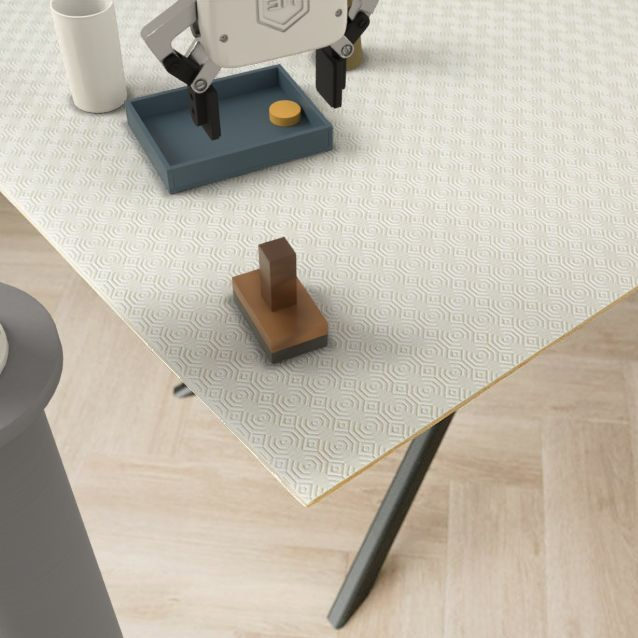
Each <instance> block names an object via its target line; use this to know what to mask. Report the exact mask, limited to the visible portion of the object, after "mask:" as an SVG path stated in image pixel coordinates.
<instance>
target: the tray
mask: <svg viewBox="0 0 638 638" xmlns="http://www.w3.org/2000/svg"><path fill="white" fill-rule="evenodd" d="M211 84H212V85H213V87H214V88H215V89H216V91H217V94H218V103H219V115H220V127H221V137H219V139H217V140H213V141H212V140H211V139H210V138H209V136H208V135H207V133H206V132H205V130H204V129H203V128H202V126H198V127H197V126H196V125H195V124H194V122H193V120H192V117H191V114H190V107H189V98H188V89H187V85H184V86H180V87H176V88H172V89H166V90H164V91H159V92H154V93H150V94H147V95H142V96H141V95H140V96H138V97H134V98H129V99H126V100H125V101H124V104H123V105H124V110H125V115H126V121H127V126H129V128H130V130H131V132H132V134H133V135H134V137H135V138H136V140H137V141H138V144H139V145H140V146H141V148H142V150H143V152H144V153H145V154H146V157H147V158H148V160H149V162H150V163H151V165H152V167H153V168H154V171H155V172H156V173H157V175H158V177H159V179H160V180H161V182H162V184H163V185H164V187H165V188H166V190H167V192H168V193H169V194H170V195H172V194H176V193H180V192H184V191H186V190H187V191H188V190H191V189H195V188H198V187H202V186H206V185H210V184H212V183H216V182H220V181H223V180H228V179H232V178H234V177H239V176H242V175H246V174H249V173H252V172H256V171H260V170H263V169H267V168H271V167H274V166H277V165H278V166H279V165H280V164H285V163H290V162H292V161H295V160H296V161H297V160H301V159H303V158H306V157H310V156H314V155H317V154H322V153H325V152H328V151H332V150H333V149H334V146H333V145H334V125H333V124H332V123H331V122H330V121H329V119H328V118H327V117H326V116H325V115H324V113H322V111H321V110H320V108H318V107H317V105H316V104H315V103H314V102H313V100H312V99H311V98H310V97H309V96H308V95H307V93H305V91H304V89H302V88H301V86H299V84H298V83H297V82H296V81H295V79H294V78H293V77H292V76H291V75H290V74H289V72H288V71H287V70H286V69H285V68H284V66H283V65H282V64H281V63H277V64H272V65H268V66H264V67H260V68H256V69H251V70H247V71H243V72H239V73H238V72H237V73H234V74H231V75H227V76H226V75H225V76H223V77H222V76H221V77H216V78H214V80H213V81H212V83H211ZM282 100H288V101H293V102H295V103H297V104H298V105H299V106H300V108H301V119H300V121H299V122H298V123H297V124H295V125H293V126H288V127H282V126H277V125H275V124H273V123H272V122H271V121H270V115H269V108H270V106H271V105H272V104H273V103H275V102H277V101H282Z"/></svg>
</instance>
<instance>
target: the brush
mask: <svg viewBox="0 0 638 638" xmlns="http://www.w3.org/2000/svg"><path fill="white" fill-rule="evenodd" d="M257 247H258V248H257V249H258V251H257V252H258V263H259V265H258V268H257V269H254V270H250V271H247V272H243V273H240V274H237V275H234V276H232V277H231V286H232V297H233V298H232V299H233V301H234V303H235V305H236V306H237V308H238V310H239V311H240V313H241V315H242V316H243V319H244V320H245V322H246V323H247V325H248V327H249V328H250V330H251V332H252V333H253V335H254V337H255V338H256V340H257V342H258V343H259V345H260V347H261V348H262V350H263V352H264V354H265V355H266V357H267V359H268V360H269V361H270V363H271V365H275V364H278V363H281V362H283V361H286V360H289V359H293V358H295V357H298V356H301V355H303V354H307V353H309V352H312V351H315V350H318V349H320V348H323V347H327V346H328V339H329V337H328V336H329V322H328V319H326V317H325V315H324V314H323V312H322V311H321V310H320V308H319V307H318V305H317V304H316V301H314V299H313V298H312V296H311V295H310V294H309V292H308V290H307V289H306V288H305V286H304V285H303V283H302V282H301V280H300V279H299V277H298V274H297V273H298V270H297V269H298V268H297V267H298V265H297V253H296V251H295V250H294V248H293V247H292V246H291V244H290V243H289V240H288V239H287V238H286V236H282V237H279V238H276V239H272V240H268V241H265V242H262V243H259V244H258V245H257Z"/></svg>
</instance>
